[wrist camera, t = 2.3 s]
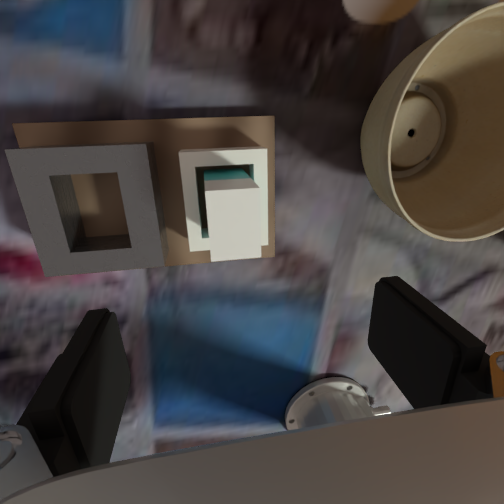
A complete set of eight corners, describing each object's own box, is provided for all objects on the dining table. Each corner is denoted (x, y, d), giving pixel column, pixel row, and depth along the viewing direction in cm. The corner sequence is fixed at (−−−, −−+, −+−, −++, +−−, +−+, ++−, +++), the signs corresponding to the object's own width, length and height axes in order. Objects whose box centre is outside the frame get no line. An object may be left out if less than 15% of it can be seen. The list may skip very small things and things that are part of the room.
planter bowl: (404, 233, 37) (479, 274, 27) (297, 158, 32) (342, 173, 22) (504, 109, 33) (635, 102, 23) (401, -1, 28) (515, -72, 18)
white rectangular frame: (261, 146, 29) (267, 148, 26) (262, 234, 32) (268, 245, 30) (180, 149, 28) (178, 152, 25) (191, 240, 31) (190, 251, 29)
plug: (241, 168, 30) (260, 187, 20) (243, 218, 31) (261, 257, 22) (203, 170, 29) (204, 191, 20) (208, 221, 31) (211, 261, 22)
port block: (153, 141, 28) (145, 144, 24) (168, 249, 32) (164, 266, 28) (31, 146, 26) (4, 149, 23) (64, 258, 30) (45, 276, 27)
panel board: (271, 116, 30) (274, 115, 28) (271, 251, 35) (274, 256, 34) (21, 123, 27) (11, 123, 25) (64, 269, 32) (58, 275, 31)
